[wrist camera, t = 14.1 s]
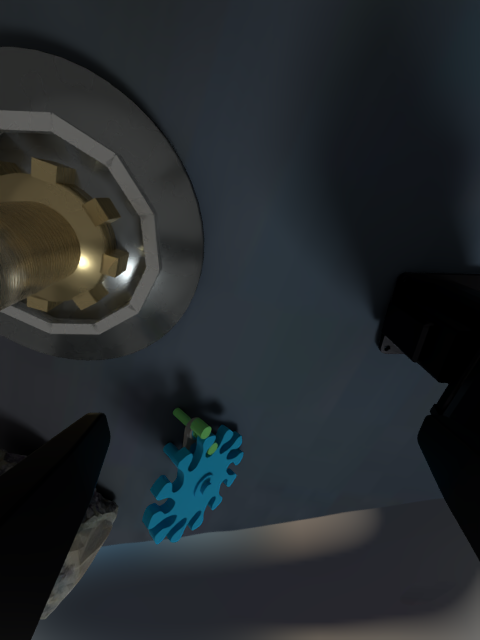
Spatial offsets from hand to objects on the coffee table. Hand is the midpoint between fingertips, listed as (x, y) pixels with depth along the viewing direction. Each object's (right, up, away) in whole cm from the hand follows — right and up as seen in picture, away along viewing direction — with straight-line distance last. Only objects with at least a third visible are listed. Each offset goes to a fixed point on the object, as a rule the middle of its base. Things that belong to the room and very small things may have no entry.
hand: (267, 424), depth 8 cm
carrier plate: (-12, +8, +10) cm, 18 cm away
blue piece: (-4, -9, +19) cm, 21 cm away
